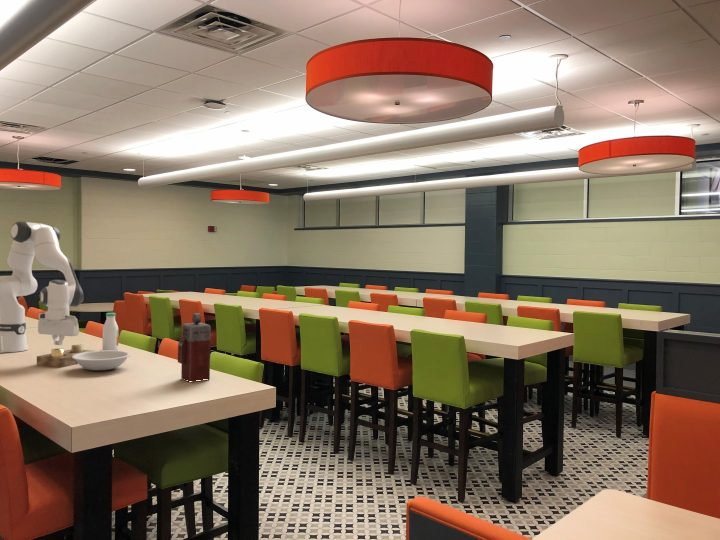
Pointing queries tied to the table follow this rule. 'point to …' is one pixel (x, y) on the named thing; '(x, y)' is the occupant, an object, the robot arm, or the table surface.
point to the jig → (61, 361)
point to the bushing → (57, 352)
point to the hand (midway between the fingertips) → (58, 344)
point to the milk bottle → (110, 333)
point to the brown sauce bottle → (195, 350)
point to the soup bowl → (101, 359)
